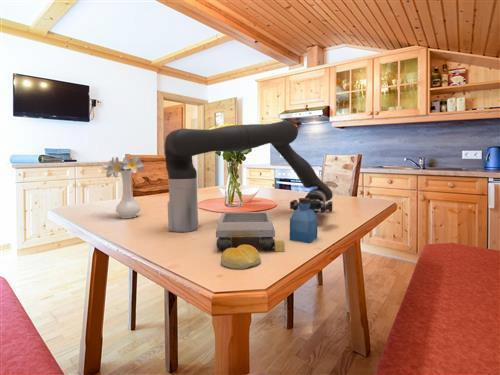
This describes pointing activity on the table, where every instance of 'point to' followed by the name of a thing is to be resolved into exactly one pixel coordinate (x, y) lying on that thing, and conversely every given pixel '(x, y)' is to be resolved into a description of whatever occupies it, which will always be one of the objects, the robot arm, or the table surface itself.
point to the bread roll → (240, 257)
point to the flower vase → (125, 183)
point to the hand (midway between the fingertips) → (308, 209)
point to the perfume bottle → (303, 223)
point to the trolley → (247, 229)
